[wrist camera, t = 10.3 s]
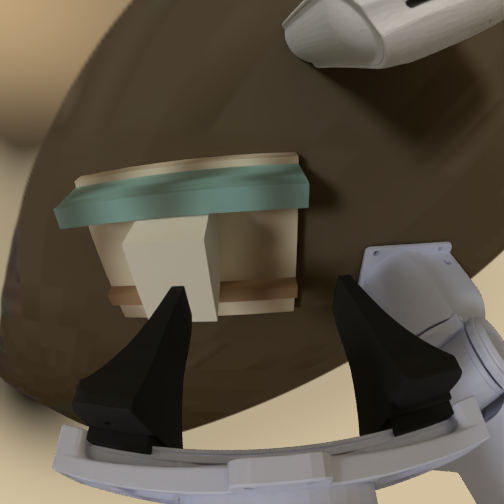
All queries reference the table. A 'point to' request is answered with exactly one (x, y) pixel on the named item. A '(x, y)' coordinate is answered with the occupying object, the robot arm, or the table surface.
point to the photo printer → (383, 29)
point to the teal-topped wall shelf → (202, 202)
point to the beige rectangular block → (176, 261)
